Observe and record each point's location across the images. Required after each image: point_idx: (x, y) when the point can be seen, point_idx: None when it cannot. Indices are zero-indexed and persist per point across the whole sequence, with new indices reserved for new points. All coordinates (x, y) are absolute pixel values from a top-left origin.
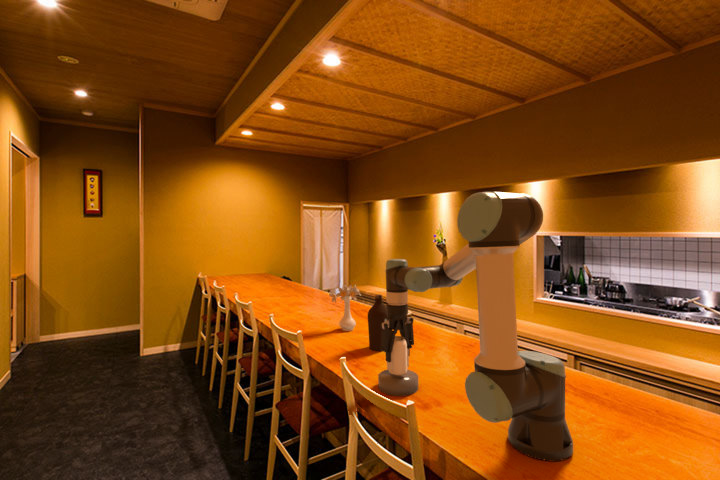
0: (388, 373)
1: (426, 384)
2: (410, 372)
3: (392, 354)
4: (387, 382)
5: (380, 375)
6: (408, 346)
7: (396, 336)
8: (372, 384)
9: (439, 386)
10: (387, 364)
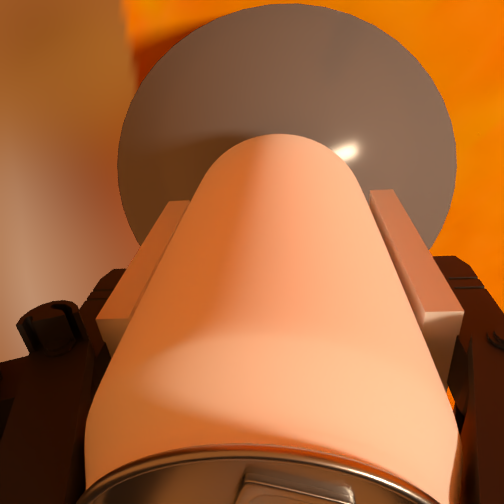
0: (244, 104)
1: (463, 235)
2: (418, 198)
3: None
4: (142, 243)
5: (155, 101)
6: (462, 424)
7: (378, 484)
8: (141, 4)
9: (494, 294)
10: (155, 230)
